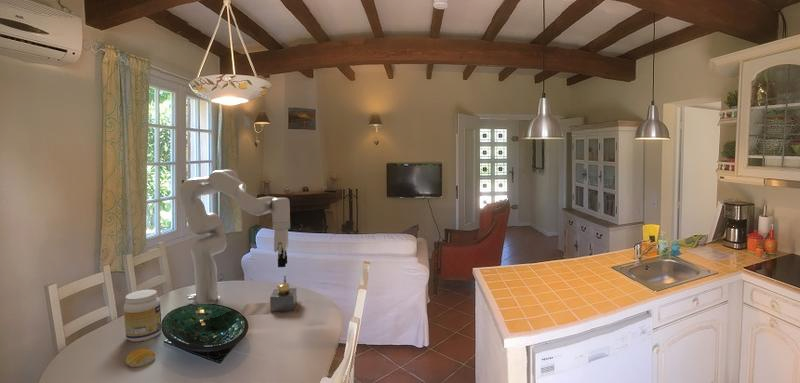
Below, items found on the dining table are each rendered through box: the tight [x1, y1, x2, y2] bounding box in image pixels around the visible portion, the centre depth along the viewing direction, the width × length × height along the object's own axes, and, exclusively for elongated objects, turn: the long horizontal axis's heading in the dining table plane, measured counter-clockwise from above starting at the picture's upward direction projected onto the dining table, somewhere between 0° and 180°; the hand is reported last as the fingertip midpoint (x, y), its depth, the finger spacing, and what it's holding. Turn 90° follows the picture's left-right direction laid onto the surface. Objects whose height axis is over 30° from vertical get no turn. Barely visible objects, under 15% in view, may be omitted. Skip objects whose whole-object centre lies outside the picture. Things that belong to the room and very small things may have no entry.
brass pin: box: [276, 282, 290, 295], centre depth 179 cm, size 5×5×10 cm
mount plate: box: [240, 300, 302, 316], centre depth 179 cm, size 25×13×2 cm, turn 97°
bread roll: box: [125, 347, 156, 368], centre depth 137 cm, size 8×9×4 cm
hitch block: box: [269, 287, 298, 312], centre depth 179 cm, size 10×10×7 cm
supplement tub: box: [122, 289, 163, 342], centre depth 155 cm, size 12×12×17 cm
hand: (282, 264), depth 177 cm, fingers open, 4 cm apart
